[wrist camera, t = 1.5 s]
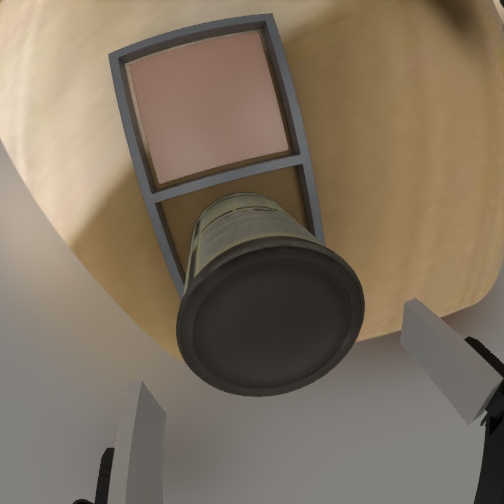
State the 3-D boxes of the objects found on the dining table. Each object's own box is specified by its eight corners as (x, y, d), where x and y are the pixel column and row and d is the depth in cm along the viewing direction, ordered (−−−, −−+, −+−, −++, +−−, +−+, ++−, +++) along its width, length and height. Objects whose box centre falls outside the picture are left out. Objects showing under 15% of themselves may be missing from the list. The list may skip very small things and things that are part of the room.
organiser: (267, 21, 19) (272, 13, 17) (324, 286, 30) (331, 295, 28) (115, 59, 18) (108, 54, 17) (196, 322, 29) (195, 334, 28)
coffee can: (310, 262, 29) (378, 348, 16) (222, 306, 29) (236, 415, 16) (269, 171, 25) (335, 201, 12) (170, 223, 25) (134, 305, 12)
